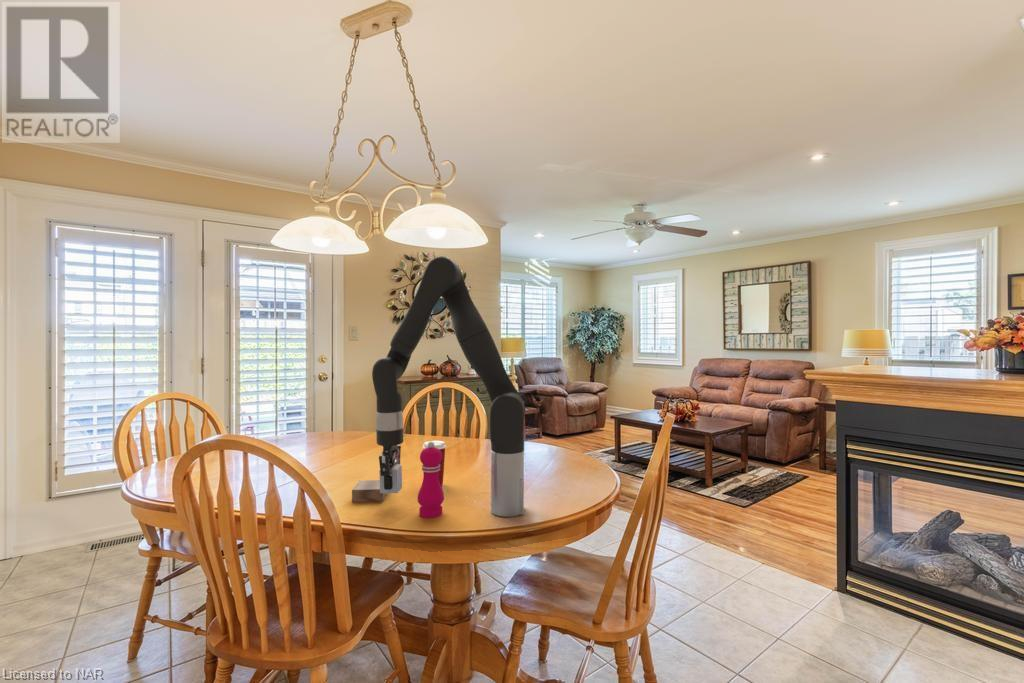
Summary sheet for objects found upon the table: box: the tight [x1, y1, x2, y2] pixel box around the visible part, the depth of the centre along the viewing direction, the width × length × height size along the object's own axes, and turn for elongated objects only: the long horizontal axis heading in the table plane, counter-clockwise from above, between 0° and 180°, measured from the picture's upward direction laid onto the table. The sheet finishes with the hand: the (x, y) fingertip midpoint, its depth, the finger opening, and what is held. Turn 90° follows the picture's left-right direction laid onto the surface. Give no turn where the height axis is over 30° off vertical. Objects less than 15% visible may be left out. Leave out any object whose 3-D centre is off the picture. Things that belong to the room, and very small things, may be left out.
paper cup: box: [422, 440, 447, 487], centre depth 159 cm, size 8×8×14 cm
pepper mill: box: [417, 442, 445, 519], centre depth 134 cm, size 7×7×20 cm
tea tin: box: [378, 463, 403, 494], centre depth 139 cm, size 5×5×7 cm
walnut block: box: [351, 479, 389, 503], centre depth 148 cm, size 9×9×4 cm
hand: (391, 485), depth 139 cm, fingers closed on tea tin, 5 cm apart
